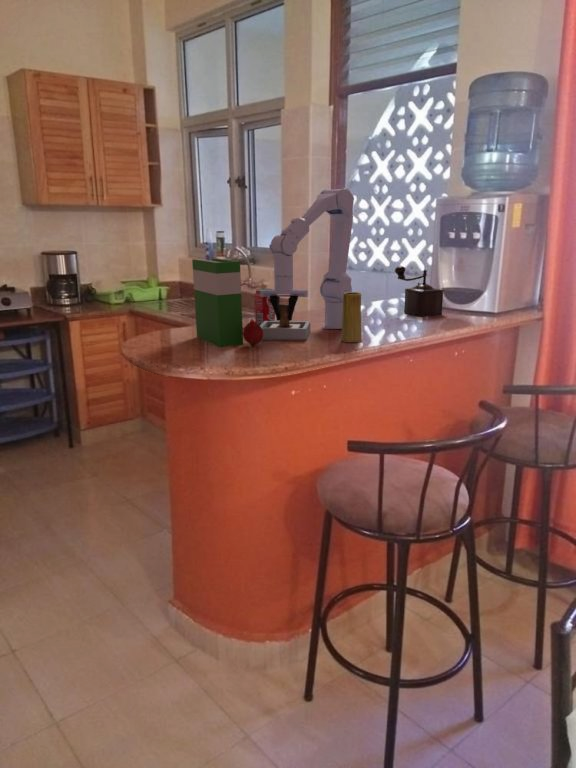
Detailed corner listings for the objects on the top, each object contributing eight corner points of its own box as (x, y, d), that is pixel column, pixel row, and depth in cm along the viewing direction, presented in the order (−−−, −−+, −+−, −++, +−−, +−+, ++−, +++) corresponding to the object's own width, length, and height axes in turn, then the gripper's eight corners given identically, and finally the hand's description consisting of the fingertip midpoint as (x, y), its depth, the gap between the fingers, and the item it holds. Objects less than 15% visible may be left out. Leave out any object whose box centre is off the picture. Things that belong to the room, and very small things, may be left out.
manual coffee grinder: (424, 310, 221) (427, 264, 216) (442, 314, 211) (445, 266, 206) (391, 314, 215) (392, 265, 210) (407, 318, 205) (410, 268, 200)
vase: (348, 344, 165) (349, 295, 161) (337, 340, 170) (337, 292, 166) (365, 341, 168) (366, 293, 164) (354, 338, 173) (354, 291, 169)
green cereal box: (197, 337, 178) (192, 259, 171) (218, 334, 181) (214, 258, 175) (220, 347, 163) (216, 262, 157) (243, 344, 167) (240, 261, 160)
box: (310, 332, 183) (310, 321, 182) (306, 340, 170) (306, 328, 169) (264, 331, 185) (264, 320, 184) (257, 340, 172) (256, 328, 171)
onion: (266, 344, 166) (265, 317, 164) (259, 348, 161) (258, 320, 158) (248, 343, 168) (247, 316, 165) (240, 347, 162) (239, 320, 160)
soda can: (276, 322, 202) (275, 288, 198) (273, 325, 195) (273, 290, 192) (256, 322, 202) (255, 288, 199) (253, 325, 196) (252, 290, 192)
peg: (290, 326, 178) (290, 303, 176) (288, 327, 175) (288, 305, 173) (280, 326, 178) (280, 303, 177) (278, 327, 175) (278, 305, 174)
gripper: (257, 277, 169) (259, 322, 173) (305, 277, 167) (306, 322, 171) (262, 274, 176) (263, 318, 180) (308, 274, 174) (308, 318, 178)
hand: (284, 320), depth 176 cm, fingers closed on peg, 3 cm apart
